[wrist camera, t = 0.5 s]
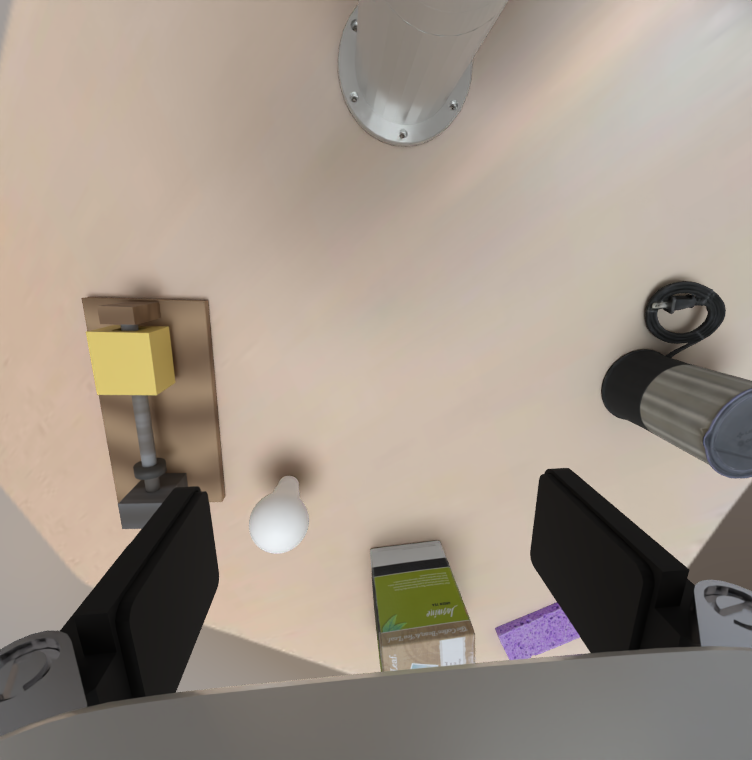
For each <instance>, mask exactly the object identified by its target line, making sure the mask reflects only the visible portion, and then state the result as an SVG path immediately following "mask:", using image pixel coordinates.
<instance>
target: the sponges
mask: <svg viewBox="0 0 752 760" xmlns="http://www.w3.org/2000/svg"><path fill="white" fill-rule="evenodd" d="M495 630H496V632H497V635H498V637H499V639H500V642H501V644H502V646H503V647H504V650H505V652H506V654H507V655H508V657H509V660H518V659H528V658H531V656H532V655H538V654H541V653H544V652H545V651H548V650H550V649H553V648H556V647H558V646H561V645H563V644H565V643H568V642H570V641H572V640H575V639H577V638H579V637H580V636H579V634H578V633H577V631H576V630H575V628H574V627H573V625H572V624H571V622H570V621H569V619H568V618H567V616H566V615H565V613H564V612H563V610H562V609H561V607H560V606H559V604H558V603H554V604H552V605H549V606H547V607H545V608H543V609H540V610H538V611H535V612H533V613H530V614H528V615H526V616H523V617H521V618H519V619H516V620H513V621H511V622H508V623H506V624H503V625H501V626H499V627H496V628H495Z"/></svg>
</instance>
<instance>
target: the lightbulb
mask: <svg viewBox="0 0 752 760" xmlns="http://www.w3.org/2000/svg"><path fill="white" fill-rule="evenodd" d="M308 525H309V514H308V511H307V508H306V506H305V504H304V503H303V501H302V500H301V499H300V492H299V482H298V480H297V479H296V478H295V477H293V476H285V477H283V478H281V479H280V481H279V483H278V485H277V487H276V488H275V489H274V491H273V493H271V494H269V495H267V496H265V497H264V498H262V499H261V500H260V501H259V502H258V503H257V504H256V505H255V507H254V509H253V510H252V513H251V516H250V520H249V530H250V535H251V538H252V539H253V541H254V543H255V544H256V545H257V546H258V547H259V548H261V549H262V550H264V551H266V552H269V553H275V554H277V553H284V552H287V551H290V550H291V549H293V548H295V547H296V546H297V545H298V544H299V543H300V542H301V541H302V540H303V538H304V537H305V535H306V532H307V530H308Z"/></svg>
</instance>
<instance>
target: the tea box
mask: <svg viewBox="0 0 752 760" xmlns="http://www.w3.org/2000/svg"><path fill="white" fill-rule="evenodd" d="M370 556H371V571H372V585H373V598H374V610H375V621H376V630H377V640H378V650H379V659H380V668H381V672H385V671H396V670H406V669H417V668H428V667H439V666H450V665H461V664H472V663H475V633H474V630H473V626H472V624H471V621H470V618H469V615H468V613H467V610H466V608H465V605H464V603H463V600H462V597H461V594H460V591H459V589H458V587H457V584H456V582H455V579H454V576H453V574H452V571H451V568H450V566H449V563H448V561H447V558H446V555H445V553H444V550H443V548H442V545H441V543H440V541H430V542H421V543H412V544H404V545H396V546H388V547H381V548H374V549H371V550H370Z"/></svg>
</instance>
